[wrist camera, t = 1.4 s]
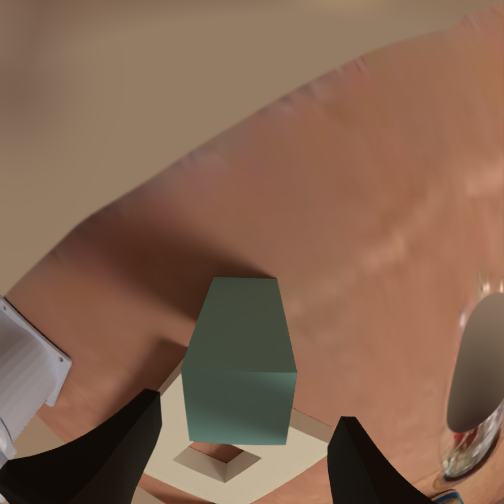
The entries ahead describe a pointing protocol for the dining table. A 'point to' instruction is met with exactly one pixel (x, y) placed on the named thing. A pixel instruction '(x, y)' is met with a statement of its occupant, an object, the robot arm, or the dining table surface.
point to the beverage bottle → (448, 498)
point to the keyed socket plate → (238, 469)
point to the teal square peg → (240, 366)
